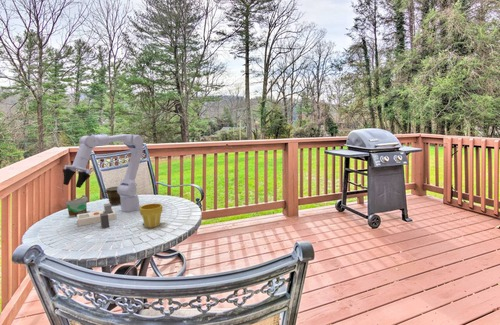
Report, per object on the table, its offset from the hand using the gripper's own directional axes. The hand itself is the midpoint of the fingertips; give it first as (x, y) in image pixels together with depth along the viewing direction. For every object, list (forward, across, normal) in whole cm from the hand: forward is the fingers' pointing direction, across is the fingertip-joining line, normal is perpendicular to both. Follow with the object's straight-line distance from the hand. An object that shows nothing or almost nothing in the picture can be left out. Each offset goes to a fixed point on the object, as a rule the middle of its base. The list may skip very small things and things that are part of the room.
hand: (71, 186), depth 137 cm
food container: (+14, -11, +24) cm, 30 cm away
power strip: (+14, +5, +18) cm, 23 cm away
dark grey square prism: (+16, +16, +11) cm, 26 cm away
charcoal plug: (+11, +8, +21) cm, 25 cm away
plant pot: (+10, +36, +19) cm, 42 cm away
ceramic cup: (+4, -9, +44) cm, 45 cm away
